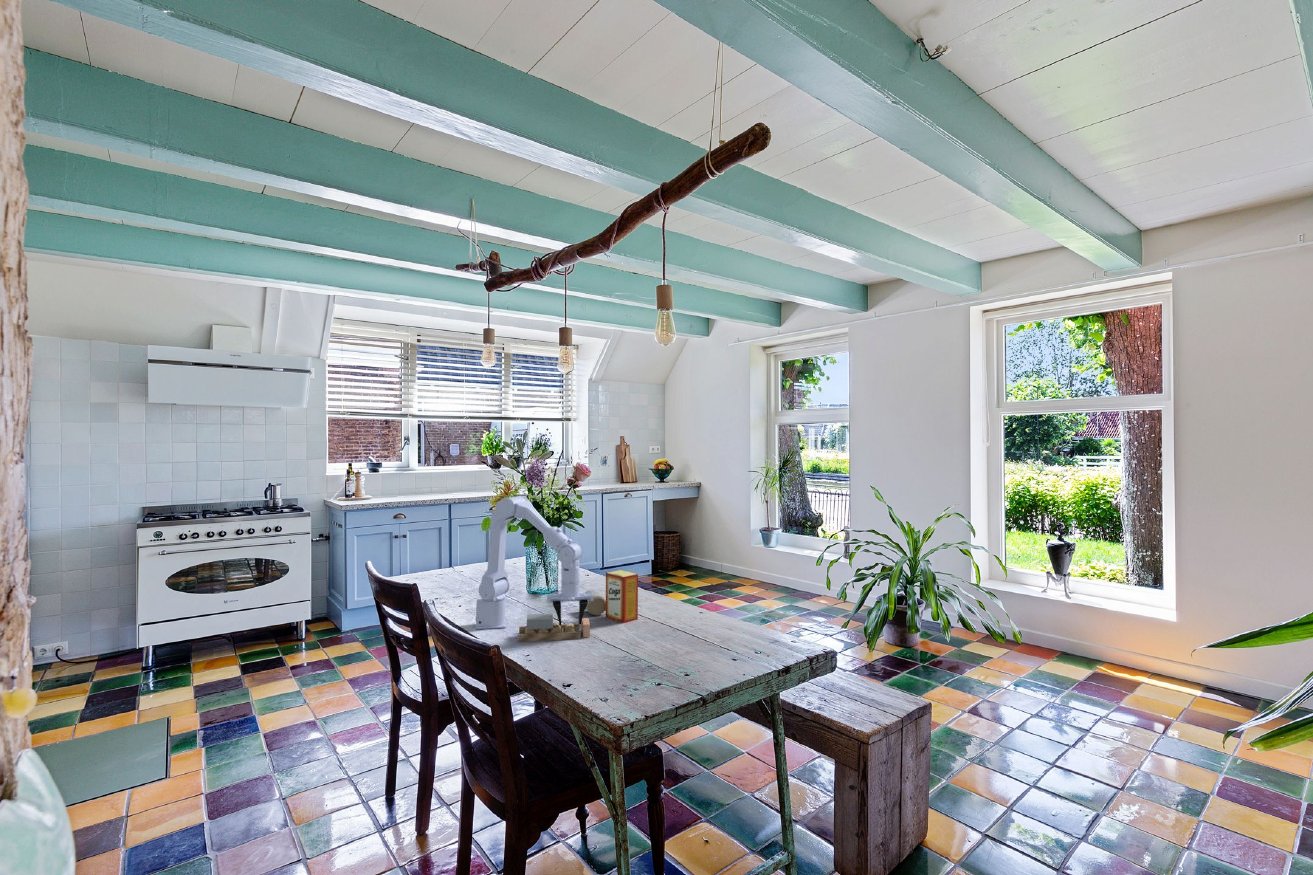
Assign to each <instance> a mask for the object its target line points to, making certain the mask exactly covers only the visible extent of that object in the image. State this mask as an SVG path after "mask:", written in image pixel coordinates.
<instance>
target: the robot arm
mask: <svg viewBox="0 0 1313 875" xmlns="http://www.w3.org/2000/svg"><path fill="white" fill-rule="evenodd" d="M513 519H522V520H523V519H524V520H526V521H528V522H529V523H530V524H531V525H532V526H533V527H535V528H536V529H537V530H538V531H539V532H541V533H542V534H543V541H544V542H545V543H547V544H548V545H549V546H550V548H552V549H553V550H554V551H555V552H556V553H557V557H558V560H559V561H560V564H561V570H560V571H561V575H560V576H561V580H560V584H561V588H560V589H561V590H560V591H561V592H560V593H556V594H549V595H548V594H547V595H546V602H547V603H548V604H550V603H552V606H553V608H554V610H555V613H556V615H557V619H558V623H559V625H561V624H562V602H564V603H565V602H578V603H579V604H578V605H579V606H578V609H579V610H578V611H579V612H578V624H579V625H582V618H584V613H585V611H586V607H587V605H588V601H589V600H590V601H593V594H587V593H585V592H580V559H581V557H582V555H583V548H582V545H580V543H579V542H578V541H573V540H572V538H569V537H568V536H567V535H566V534H565V533H564V532H563V529H562V528H561V527H558V526H551V525H550V524H549V523H548V522H547V520H546V519H545V518H544V517H543V516H542V515H541V514H540V513H539V512H538V511H537V510H536V508H535V507H534V506H533V503H532V502H531V501H530V500H528V498H527V497H526V496H524V495H517V496H516V495H515V496H511V497H504V498H502V499H500V500H499V501H498V502H496V504H495V508H494V510H493V512H492V513H491V516H490V524H489V540H488V553H487V554H488V555H487V556H488V557H487V568H486V571H485V572H484V574H483V575H482V577H481V581H480V584H479V585H478V594H479V597H480V598H478V599H477V600H476V603H475V605H476V606H475V607H476V608H475V611H476V612H475V629H477V630H483V629H502V628H506V627H507V624H508V620H507V619H506V596H507V594H506V593H508V592H509V590H510V585H511V584H510V581H509V577H508V576H509V574H508V572H507V571H506V570H505V562H506V550H507V534H508V533H507V532H508V523H509V522H511V521H513Z"/></svg>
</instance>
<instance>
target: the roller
mask: <svg viewBox="0 0 1313 875" xmlns="http://www.w3.org/2000/svg"><path fill="white" fill-rule="evenodd" d="M565 624H566V626H565V631H564V632H575V628H574V625H573V624H574V623H572V622H568V623H565Z"/></svg>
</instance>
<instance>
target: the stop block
mask: <svg viewBox="0 0 1313 875" xmlns="http://www.w3.org/2000/svg"><path fill="white" fill-rule="evenodd" d="M581 633H582V637H583V638H590V637H591V624H590V620H589V617H582V622H581Z"/></svg>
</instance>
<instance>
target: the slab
mask: <svg viewBox="0 0 1313 875" xmlns="http://www.w3.org/2000/svg"><path fill="white" fill-rule="evenodd" d="M553 623H554V616H553V613H550V612H549V613H532V614H526V626H527V630H530V629H550V628H553Z"/></svg>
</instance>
